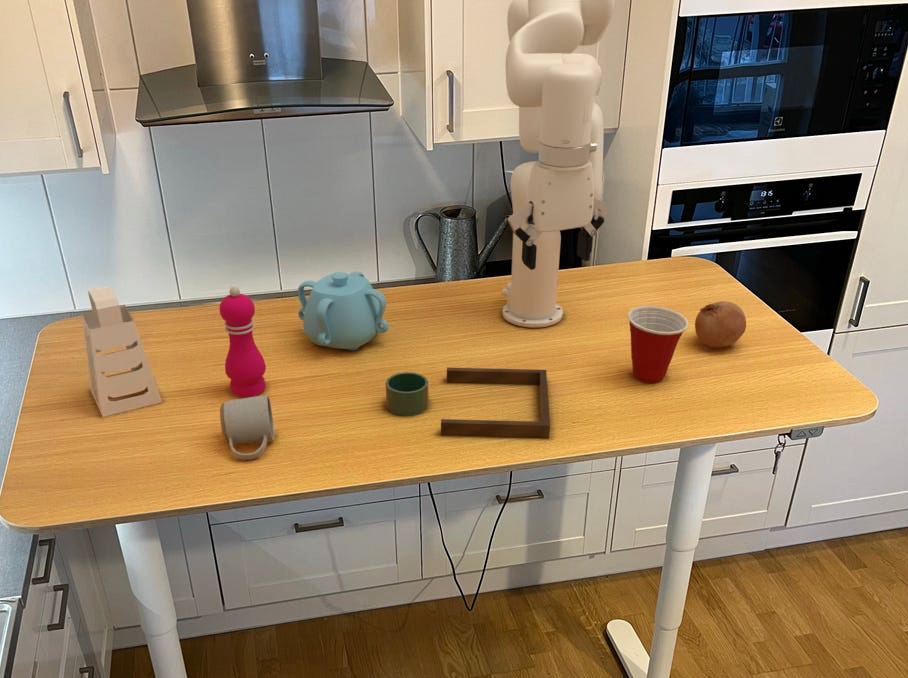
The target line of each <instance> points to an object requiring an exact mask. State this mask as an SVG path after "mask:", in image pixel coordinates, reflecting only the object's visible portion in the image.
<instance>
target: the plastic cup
mask: <svg viewBox="0 0 908 678" xmlns="http://www.w3.org/2000/svg"><path fill="white" fill-rule="evenodd" d="M627 319H628V321H629V332H630V352H631V353H630V354H631V365H632V367H631V369H632V375H633V377H634V378H635V380H636V381H639V382H641V383H645V384H657V383H661V382H662V381H664V379H665V377H666V375H667V373H668V369H669V366H670V364H671V362H672V359H673V356H674V353H675V351H676V348H677V345H678V342H679V341H680V339H681V337H682V335H683V333H684V332H686V330H687V329H688V326H689V322H688V319H687V317H685V316H684V315H683V314H681V313H680V312H677V311H675V310H673V309H670V308H666V307H662V306H657V305H656V306H654V305H641V306H636V307H634V308H631V309H630V310H629V312H628V313H627Z"/></svg>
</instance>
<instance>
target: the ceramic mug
mask: <svg viewBox="0 0 908 678" xmlns="http://www.w3.org/2000/svg"><path fill="white" fill-rule="evenodd" d="M219 419H220V427H221V433H222V437H223V439H224V441H225V442H226V443H228V444H229V448H230V450H231V452H232V455H234V457H235V458H237V459H240V460H243V461H251V460H256V459H257V458H260V456H262V455H263V454H264V453H265V450H266V447H267V444H268V443H269V442H270V443H271V442H274V441H275V427H274V426H275V424H274V416H273V409H272V405H271V399H270V396H269V395H268V394H262V395H256V396H252V397H242V398H237V399H231V400H228V401H224V402H222V403H221V404H220V406H219ZM256 443H257V444H259V443H261V445H259V447H258V449H256V450H255V451H254V452H252V453H243V452H239V451H238V450H237V451H236V449H235V448H234V445H240V444H256Z"/></svg>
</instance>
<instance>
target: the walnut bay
mask: <svg viewBox="0 0 908 678" xmlns="http://www.w3.org/2000/svg"><path fill="white" fill-rule="evenodd" d="M547 375H548V373H547V369H527V368H525V369H524V368H491V367H489V368H485V367H484V368H483V367H482V368H481V367H446V383H451V384H452V383H454V384H456V383H459V384H493V385H494V384H495V385H496V384H498V385H499V384H501V385H507V384H508V385H537V386H538V389H539V391H538V392H539V403H540V404H539V408H540V419H541V420H540V421H535V420H534V421H532V420H531V421H530V420H497V419H496V420H493V419H491V420H489V419H459V418H458V419H457V418H455V419H454V418H451V419H450V418H448V419H447V418H441V419H440V436H453V437H454V436H457V437H460V436H461V437H488V438H489V437H495V438H527V439H528V438H529V439H531V438H532V439H533V438H534V439H550V434H551V418H550V417H551V415H550V403H549V389H548V376H547Z"/></svg>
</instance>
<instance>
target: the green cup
mask: <svg viewBox="0 0 908 678" xmlns="http://www.w3.org/2000/svg"><path fill="white" fill-rule="evenodd" d="M384 385H385V403H386V404H385V405H386V408H387V410H388V411H389V412H390V413H392V414H394V415H397V416H401V417H402V416H404V417H409V416H415V415H419V414H422V413H424V412H426V410H427V409H428V407H429V402H430V399H429V395H430V391H429V380H428V377H426V376H424V375H423V374H421V373H417V372H411V371H410V372H409V371H404V372H397V373H394V374H392V375H390V376H389V377H388V378H386V380H385V384H384Z"/></svg>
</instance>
